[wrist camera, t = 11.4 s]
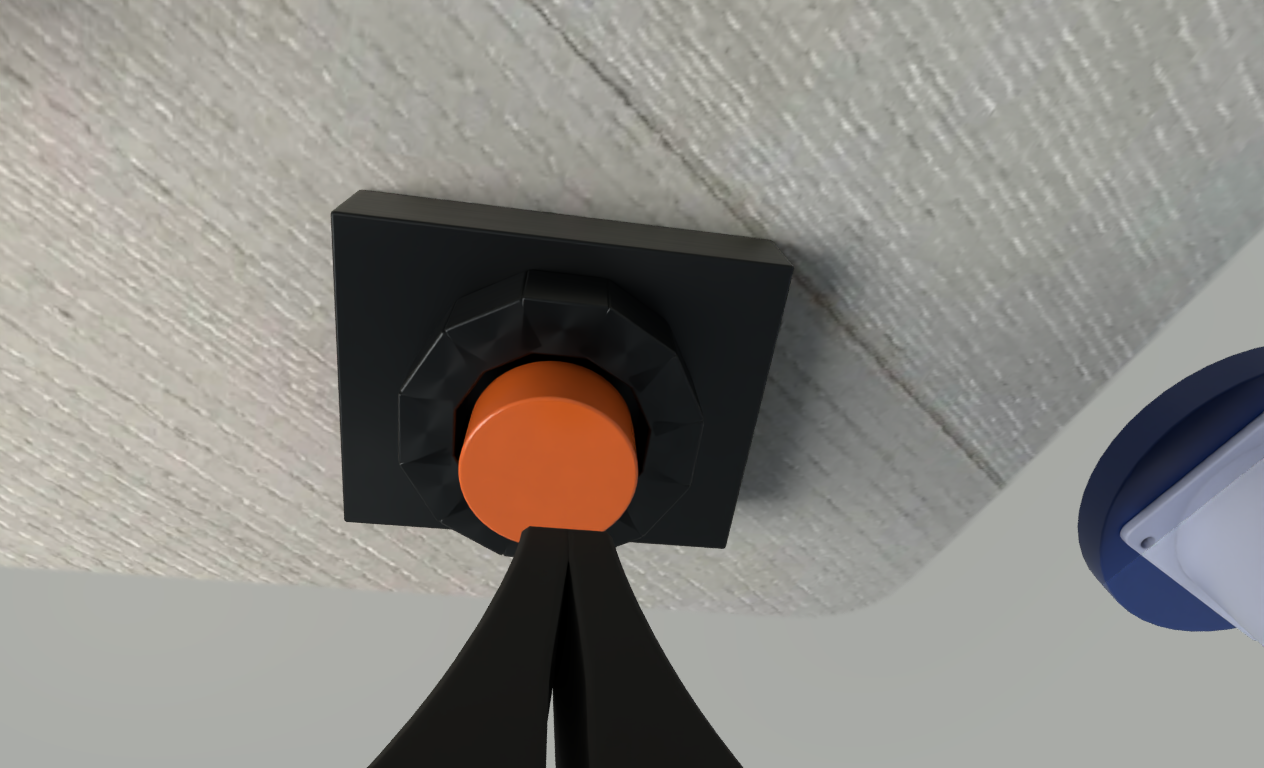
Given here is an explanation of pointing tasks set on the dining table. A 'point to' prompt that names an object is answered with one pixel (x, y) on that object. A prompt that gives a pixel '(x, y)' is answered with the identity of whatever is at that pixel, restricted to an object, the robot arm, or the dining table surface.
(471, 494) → the button
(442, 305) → the button box
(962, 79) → the dining table surface
